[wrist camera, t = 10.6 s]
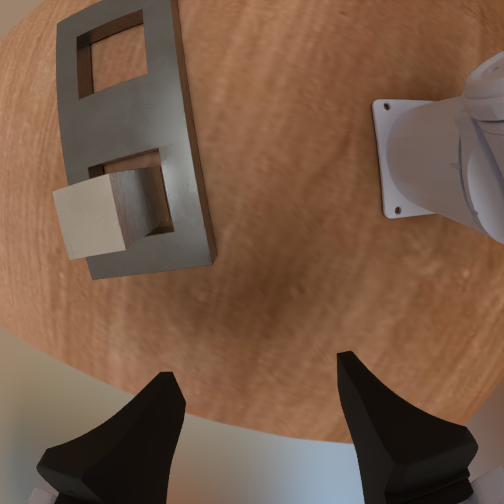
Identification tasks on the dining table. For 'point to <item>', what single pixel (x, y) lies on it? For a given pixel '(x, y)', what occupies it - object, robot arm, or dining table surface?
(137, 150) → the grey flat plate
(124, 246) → the grey square peg
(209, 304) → the dining table surface
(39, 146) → the dining table surface
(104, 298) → the dining table surface
